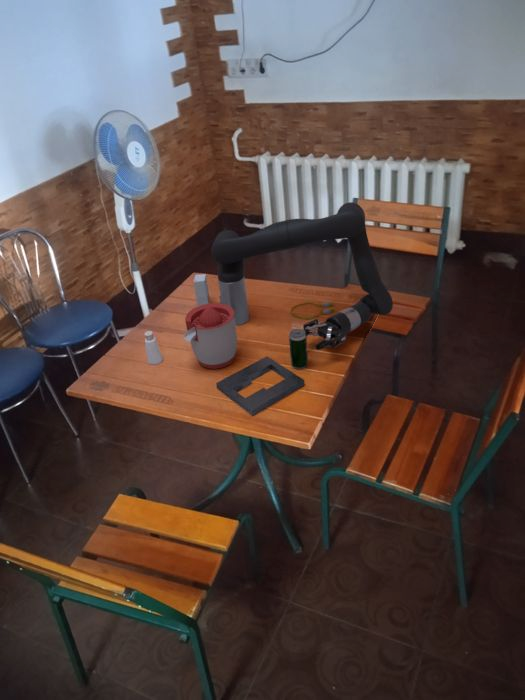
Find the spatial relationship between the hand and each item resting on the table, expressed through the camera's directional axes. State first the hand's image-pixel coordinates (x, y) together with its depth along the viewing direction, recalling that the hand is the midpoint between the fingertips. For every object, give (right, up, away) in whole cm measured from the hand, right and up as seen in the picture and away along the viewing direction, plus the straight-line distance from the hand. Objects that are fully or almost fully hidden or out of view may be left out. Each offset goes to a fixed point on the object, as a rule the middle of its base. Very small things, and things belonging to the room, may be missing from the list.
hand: (307, 342), depth 176 cm
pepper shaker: (-50, -6, +12) cm, 52 cm away
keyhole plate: (-15, -14, -6) cm, 21 cm away
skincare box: (-37, +15, +40) cm, 56 cm away
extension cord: (+4, +11, +29) cm, 32 cm away
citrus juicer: (-30, -6, +9) cm, 32 cm away
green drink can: (-2, -7, +2) cm, 8 cm away
